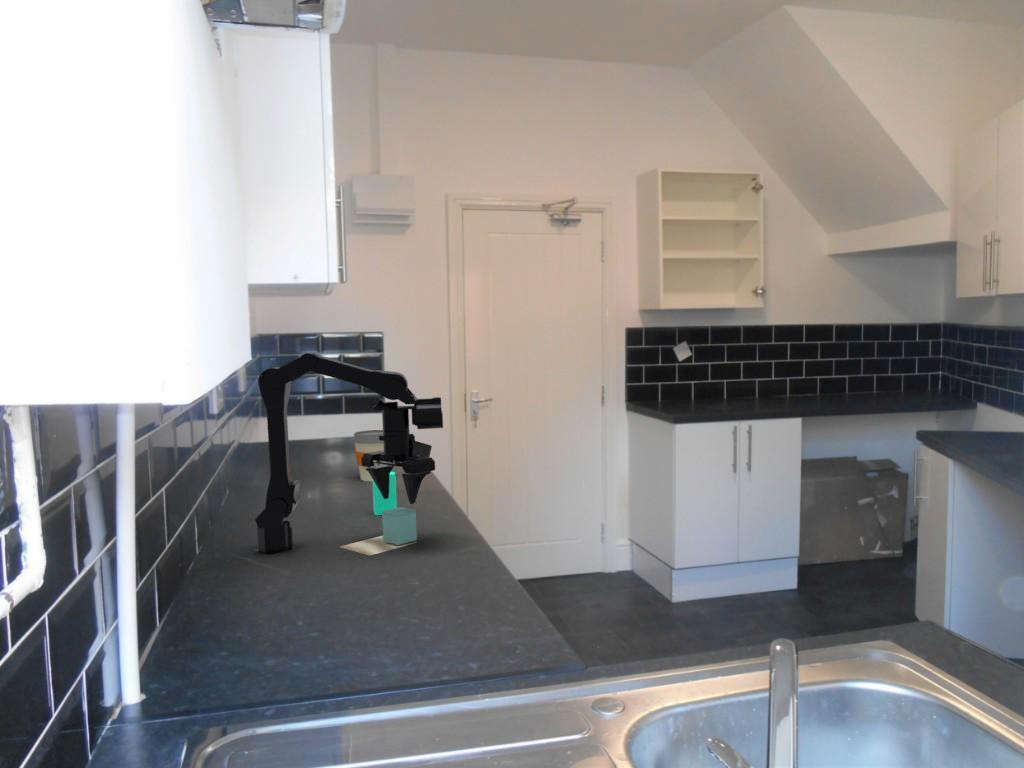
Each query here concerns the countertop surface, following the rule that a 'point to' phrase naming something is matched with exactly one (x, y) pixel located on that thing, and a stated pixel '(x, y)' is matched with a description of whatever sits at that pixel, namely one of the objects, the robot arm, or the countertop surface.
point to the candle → (379, 501)
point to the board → (373, 546)
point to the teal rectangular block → (399, 525)
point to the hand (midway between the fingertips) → (399, 501)
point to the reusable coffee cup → (367, 448)
